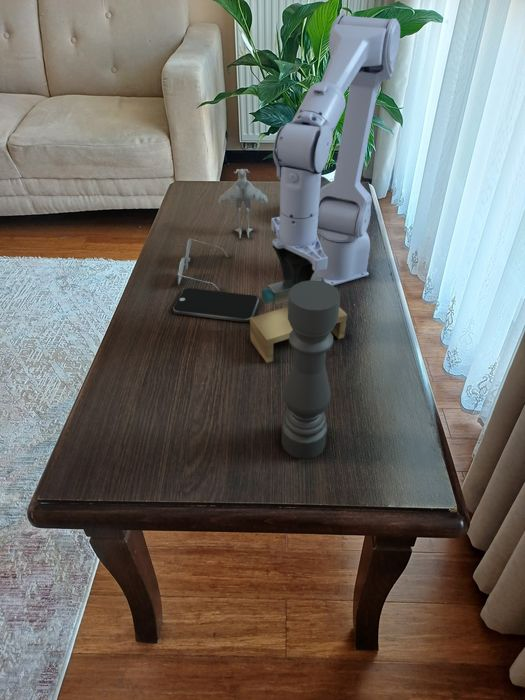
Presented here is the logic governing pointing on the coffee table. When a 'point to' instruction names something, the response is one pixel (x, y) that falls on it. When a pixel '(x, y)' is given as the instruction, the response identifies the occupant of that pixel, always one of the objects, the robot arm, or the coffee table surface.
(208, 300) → the smartphone
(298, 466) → the coffee table surface
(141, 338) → the coffee table surface
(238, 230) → the figurine
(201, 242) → the sunglasses
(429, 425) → the coffee table surface
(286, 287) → the grey and teal bar
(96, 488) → the coffee table surface
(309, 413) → the candle holder
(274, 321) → the shelf
